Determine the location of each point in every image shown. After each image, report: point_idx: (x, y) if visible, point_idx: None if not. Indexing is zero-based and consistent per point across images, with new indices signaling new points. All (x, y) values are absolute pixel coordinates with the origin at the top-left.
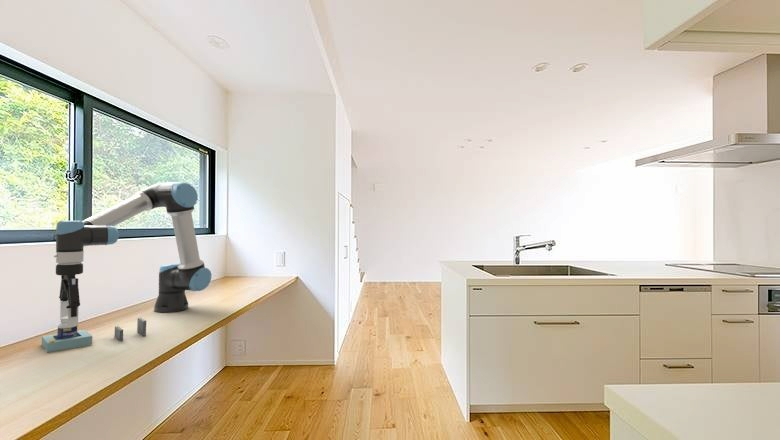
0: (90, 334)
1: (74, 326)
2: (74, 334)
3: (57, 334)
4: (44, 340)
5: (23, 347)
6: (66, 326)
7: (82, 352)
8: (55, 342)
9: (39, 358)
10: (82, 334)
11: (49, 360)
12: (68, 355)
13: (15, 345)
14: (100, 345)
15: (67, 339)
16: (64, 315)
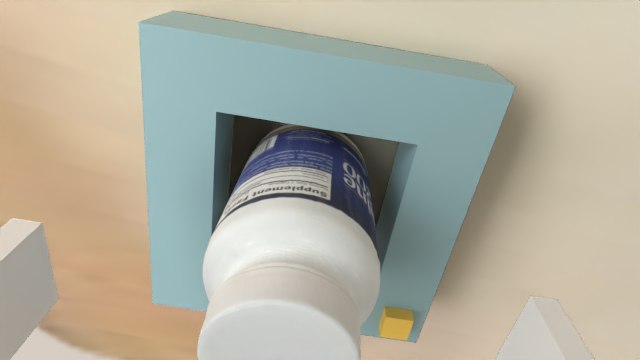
0: (435, 73)
1: (373, 245)
2: (365, 192)
3: (183, 236)
4: None
5: (171, 322)
6: (367, 314)
7: (631, 190)
8: (427, 309)
9: (489, 343)
10: (361, 120)
11: (583, 332)
12: (599, 257)
13: (90, 329)
14: (595, 33)
15: (428, 248)
16: (20, 306)
